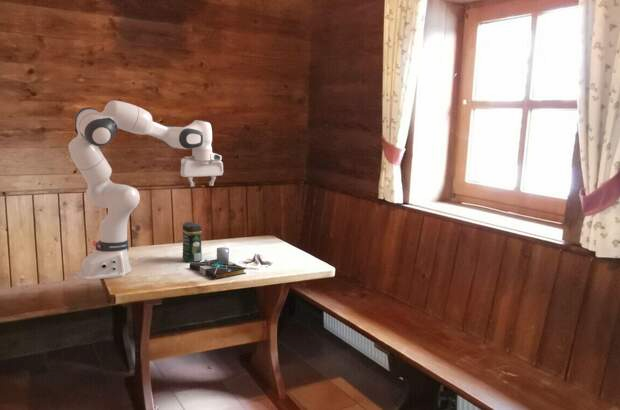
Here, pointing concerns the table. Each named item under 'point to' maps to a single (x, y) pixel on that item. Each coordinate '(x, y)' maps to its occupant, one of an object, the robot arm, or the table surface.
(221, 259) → the grey short cylinder
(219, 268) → the book
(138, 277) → the table surface
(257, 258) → the cloth
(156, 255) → the table surface
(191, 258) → the coffee jar
